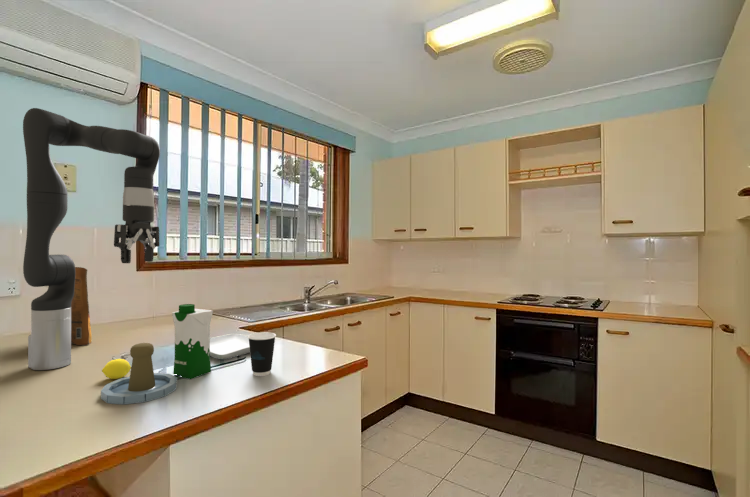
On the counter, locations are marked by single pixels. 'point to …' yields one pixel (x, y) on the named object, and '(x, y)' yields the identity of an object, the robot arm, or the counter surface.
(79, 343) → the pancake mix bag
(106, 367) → the lemon
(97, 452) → the counter surface
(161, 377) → the round dish
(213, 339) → the salad plate
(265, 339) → the dixie cup
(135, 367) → the tan pawn shape
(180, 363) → the milk carton
